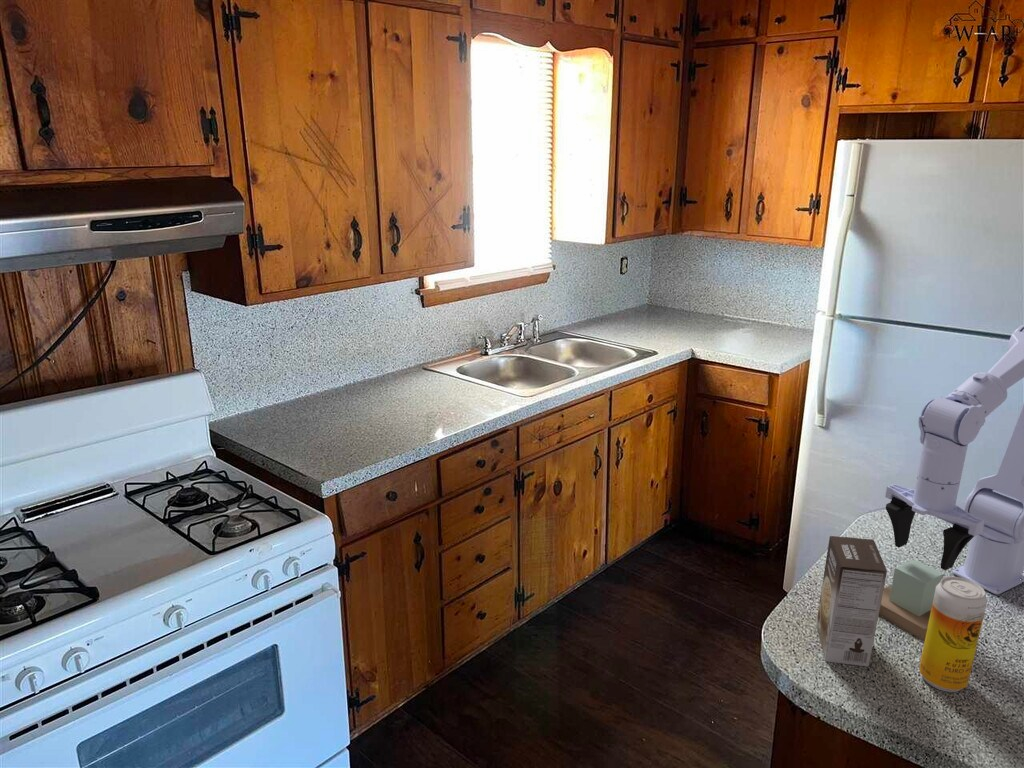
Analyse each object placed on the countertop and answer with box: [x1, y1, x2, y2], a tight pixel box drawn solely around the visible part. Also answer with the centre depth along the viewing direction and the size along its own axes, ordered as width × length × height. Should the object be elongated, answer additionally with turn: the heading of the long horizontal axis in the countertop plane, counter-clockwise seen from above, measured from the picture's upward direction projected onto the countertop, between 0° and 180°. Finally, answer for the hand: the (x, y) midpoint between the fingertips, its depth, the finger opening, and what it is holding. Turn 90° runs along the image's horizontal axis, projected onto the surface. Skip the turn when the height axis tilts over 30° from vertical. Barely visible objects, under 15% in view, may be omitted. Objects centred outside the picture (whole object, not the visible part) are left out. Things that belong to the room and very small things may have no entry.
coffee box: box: [815, 535, 888, 667], centre depth 113 cm, size 9×6×16 cm
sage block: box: [889, 558, 945, 616], centre depth 122 cm, size 5×5×6 cm
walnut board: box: [879, 584, 931, 641], centre depth 123 cm, size 10×10×2 cm
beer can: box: [918, 576, 988, 693], centre depth 106 cm, size 6×6×15 cm
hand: (923, 556), depth 120 cm, fingers open, 7 cm apart
